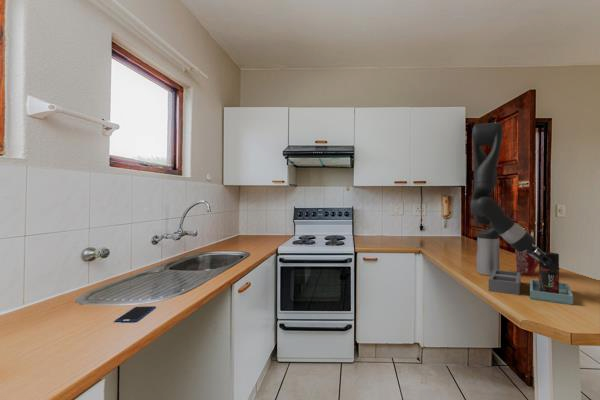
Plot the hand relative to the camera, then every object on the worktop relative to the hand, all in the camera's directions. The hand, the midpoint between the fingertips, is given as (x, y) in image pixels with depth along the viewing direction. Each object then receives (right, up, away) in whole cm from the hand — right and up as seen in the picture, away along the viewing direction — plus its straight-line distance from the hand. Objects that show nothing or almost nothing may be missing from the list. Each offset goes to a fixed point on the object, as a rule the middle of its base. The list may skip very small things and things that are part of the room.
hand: (552, 268), depth 121 cm
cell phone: (-148, -12, -16) cm, 149 cm away
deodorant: (-1, -10, 0) cm, 10 cm away
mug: (+15, -10, +34) cm, 38 cm away
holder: (-10, -10, +12) cm, 19 cm away
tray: (-1, -10, 0) cm, 10 cm away
